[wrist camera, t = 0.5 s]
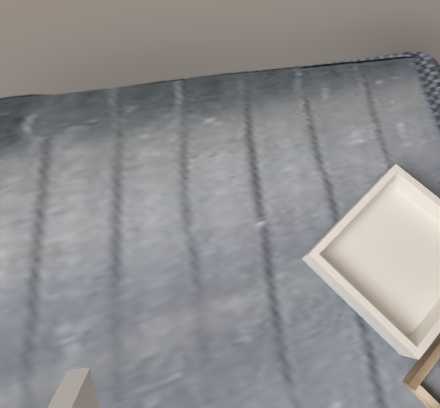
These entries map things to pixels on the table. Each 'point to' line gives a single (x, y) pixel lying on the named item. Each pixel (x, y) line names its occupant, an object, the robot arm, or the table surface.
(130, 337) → the table surface
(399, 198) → the tray
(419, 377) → the holder
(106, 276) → the table surface
